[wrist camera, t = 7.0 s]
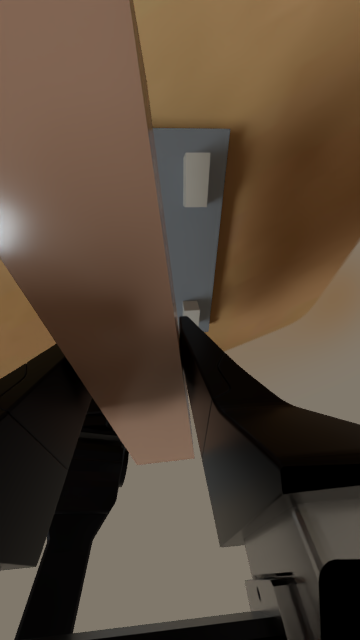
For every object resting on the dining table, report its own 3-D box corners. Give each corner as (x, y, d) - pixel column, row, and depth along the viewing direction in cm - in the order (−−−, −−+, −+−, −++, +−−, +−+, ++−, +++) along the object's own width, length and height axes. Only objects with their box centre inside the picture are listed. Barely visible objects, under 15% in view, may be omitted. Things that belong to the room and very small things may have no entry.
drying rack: (206, 324, 24) (211, 342, 21) (114, 328, 24) (107, 347, 21) (224, 134, 14) (239, 119, 11) (62, 132, 13) (34, 116, 10)
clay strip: (187, 391, 15) (194, 458, 11) (144, 397, 15) (137, 464, 11) (146, 82, 6) (109, -142, 2) (32, 96, 6) (-235, -97, 2)
